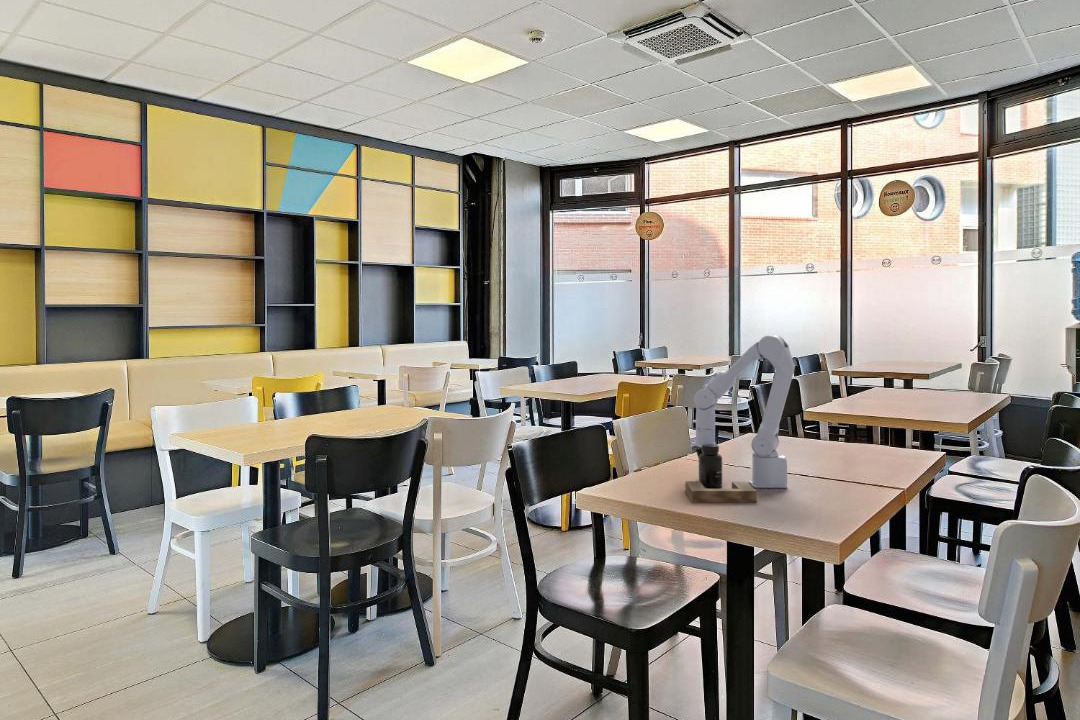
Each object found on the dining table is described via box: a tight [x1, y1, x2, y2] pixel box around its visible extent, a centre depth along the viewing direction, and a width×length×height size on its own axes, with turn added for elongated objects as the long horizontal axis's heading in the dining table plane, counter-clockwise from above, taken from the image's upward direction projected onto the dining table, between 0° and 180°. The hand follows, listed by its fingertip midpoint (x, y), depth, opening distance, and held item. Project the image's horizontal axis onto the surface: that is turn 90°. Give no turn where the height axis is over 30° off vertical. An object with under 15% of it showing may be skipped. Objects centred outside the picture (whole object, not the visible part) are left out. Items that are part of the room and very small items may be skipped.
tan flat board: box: [685, 480, 758, 503], centre depth 192 cm, size 17×12×3 cm
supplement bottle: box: [698, 444, 723, 489], centre depth 205 cm, size 7×7×12 cm
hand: (705, 472), depth 213 cm, fingers closed
